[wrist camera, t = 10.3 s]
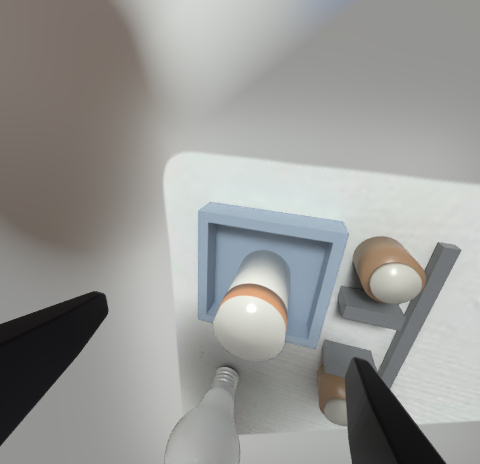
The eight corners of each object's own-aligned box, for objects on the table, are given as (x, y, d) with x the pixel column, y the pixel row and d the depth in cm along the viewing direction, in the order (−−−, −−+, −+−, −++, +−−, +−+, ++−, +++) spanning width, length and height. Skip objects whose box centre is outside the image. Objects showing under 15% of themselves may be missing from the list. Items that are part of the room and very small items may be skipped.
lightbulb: (241, 345, 25) (200, 483, 15) (265, 387, 26) (242, 536, 17) (194, 353, 27) (132, 476, 17) (218, 391, 29) (174, 524, 19)
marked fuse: (295, 255, 19) (291, 314, 13) (286, 299, 21) (279, 370, 14) (241, 245, 20) (213, 295, 13) (237, 288, 22) (211, 350, 15)
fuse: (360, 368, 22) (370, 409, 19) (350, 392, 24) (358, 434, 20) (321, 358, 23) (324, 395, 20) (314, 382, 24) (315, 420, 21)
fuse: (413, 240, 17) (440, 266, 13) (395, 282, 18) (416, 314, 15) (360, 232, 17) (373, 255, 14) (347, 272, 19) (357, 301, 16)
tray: (343, 221, 17) (348, 234, 15) (314, 327, 22) (315, 349, 19) (210, 202, 19) (198, 210, 17) (208, 301, 24) (198, 319, 21)
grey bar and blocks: (454, 244, 16) (479, 262, 14) (376, 401, 23) (384, 430, 21) (358, 230, 17) (366, 244, 15) (311, 383, 24) (312, 408, 22)
